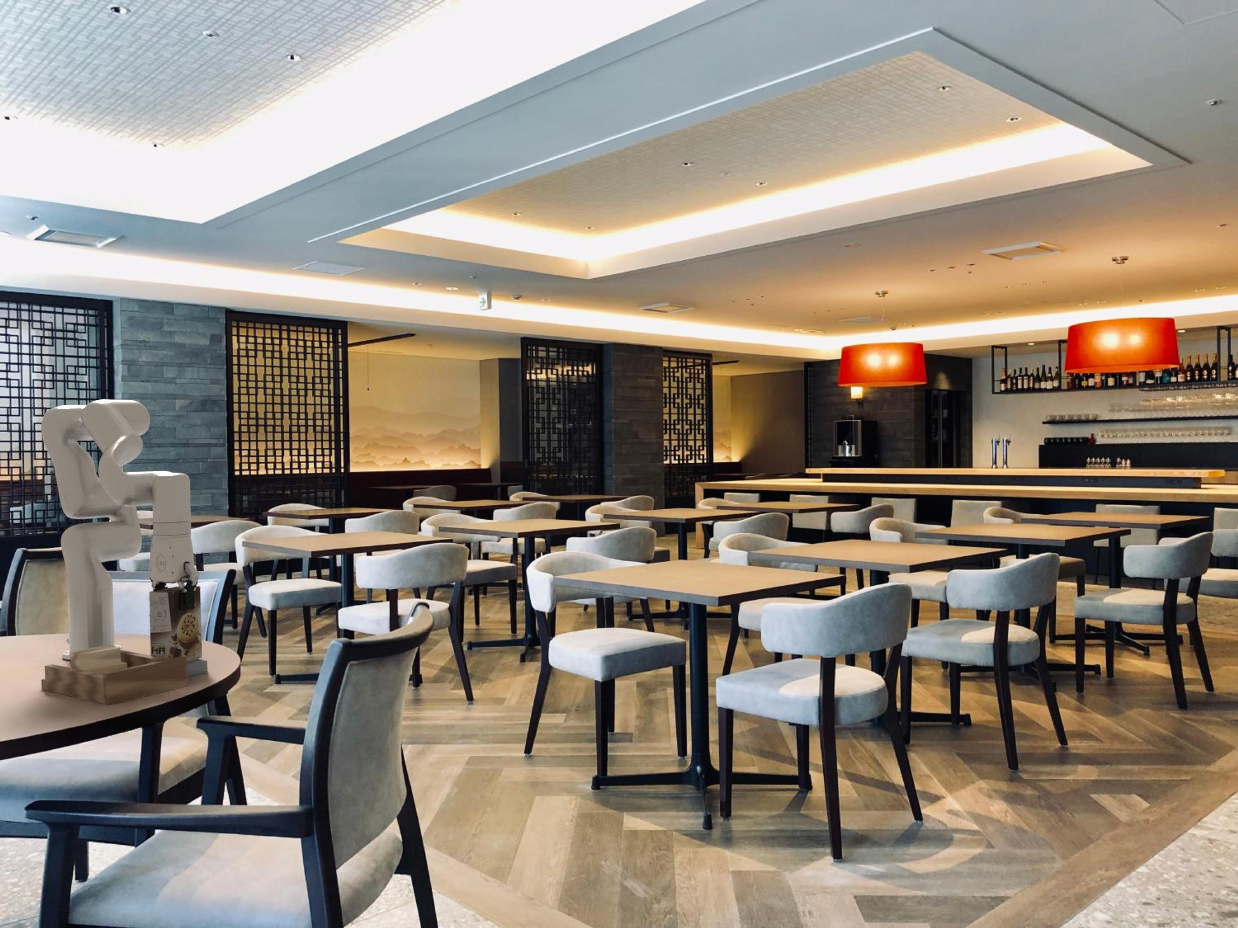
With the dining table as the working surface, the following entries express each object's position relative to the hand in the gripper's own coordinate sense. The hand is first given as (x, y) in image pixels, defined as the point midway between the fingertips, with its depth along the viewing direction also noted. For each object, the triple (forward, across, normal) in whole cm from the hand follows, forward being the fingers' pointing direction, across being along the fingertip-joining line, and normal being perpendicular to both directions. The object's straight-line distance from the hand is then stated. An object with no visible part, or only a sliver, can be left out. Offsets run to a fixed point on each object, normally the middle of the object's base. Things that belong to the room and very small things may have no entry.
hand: (173, 607), depth 212 cm
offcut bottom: (+15, -6, -14) cm, 21 cm away
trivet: (+14, +1, 0) cm, 14 cm away
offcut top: (+11, -6, -14) cm, 19 cm away
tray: (+14, +1, -14) cm, 20 cm away
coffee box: (+12, +1, 0) cm, 12 cm away
